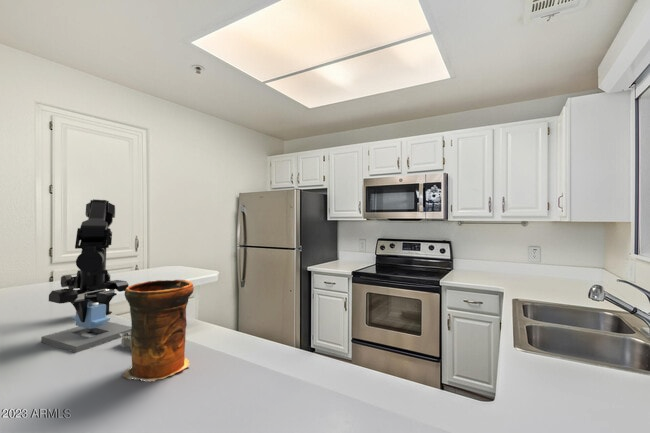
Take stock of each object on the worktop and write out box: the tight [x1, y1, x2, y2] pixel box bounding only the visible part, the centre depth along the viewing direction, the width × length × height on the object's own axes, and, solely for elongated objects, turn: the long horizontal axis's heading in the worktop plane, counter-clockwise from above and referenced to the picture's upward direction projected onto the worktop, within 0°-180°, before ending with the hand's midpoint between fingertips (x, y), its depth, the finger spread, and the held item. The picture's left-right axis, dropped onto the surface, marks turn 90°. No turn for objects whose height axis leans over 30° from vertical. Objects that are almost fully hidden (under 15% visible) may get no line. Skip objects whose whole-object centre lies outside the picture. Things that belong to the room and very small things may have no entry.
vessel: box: [122, 279, 195, 383], centre depth 73 cm, size 14×14×20 cm
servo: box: [71, 302, 111, 329], centre depth 90 cm, size 4×11×7 cm, turn 68°
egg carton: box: [120, 331, 131, 350], centre depth 86 cm, size 11×8×4 cm
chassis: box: [40, 321, 132, 353], centre depth 90 cm, size 16×16×2 cm
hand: (90, 319), depth 90 cm, fingers closed on servo, 4 cm apart
